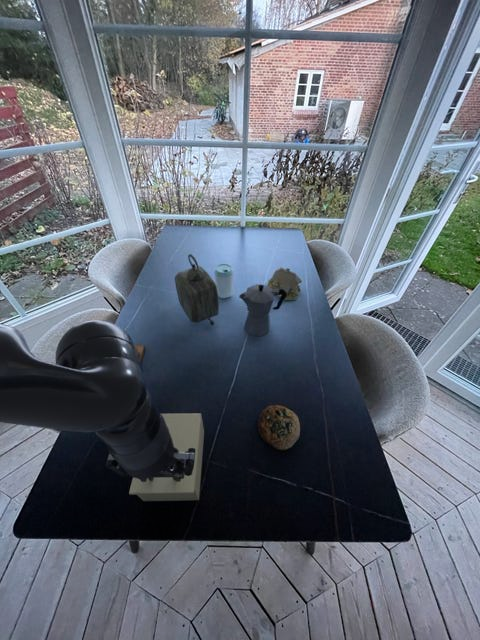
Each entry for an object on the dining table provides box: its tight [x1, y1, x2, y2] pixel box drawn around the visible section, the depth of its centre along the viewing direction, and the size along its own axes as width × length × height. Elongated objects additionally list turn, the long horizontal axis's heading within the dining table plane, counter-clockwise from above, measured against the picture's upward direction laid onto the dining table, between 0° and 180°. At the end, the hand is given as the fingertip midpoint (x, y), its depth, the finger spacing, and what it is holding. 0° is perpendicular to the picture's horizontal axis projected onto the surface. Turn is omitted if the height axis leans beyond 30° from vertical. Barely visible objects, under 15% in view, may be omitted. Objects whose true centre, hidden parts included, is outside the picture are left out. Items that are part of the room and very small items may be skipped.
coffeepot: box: [238, 283, 287, 337], centre depth 86 cm, size 15×9×18 cm, turn 101°
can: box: [213, 263, 234, 299], centre depth 100 cm, size 7×7×12 cm
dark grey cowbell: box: [174, 253, 220, 326], centre depth 86 cm, size 14×9×25 cm, turn 31°
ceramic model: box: [267, 267, 303, 301], centre depth 103 cm, size 14×11×10 cm
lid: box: [128, 412, 202, 496], centre depth 52 cm, size 15×12×5 cm
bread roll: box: [256, 404, 301, 451], centre depth 66 cm, size 11×11×5 cm
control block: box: [133, 344, 146, 366], centre depth 79 cm, size 10×7×4 cm
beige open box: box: [136, 415, 205, 502], centre depth 58 cm, size 15×12×9 cm
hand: (162, 475), depth 49 cm, fingers closed on lid, 5 cm apart
